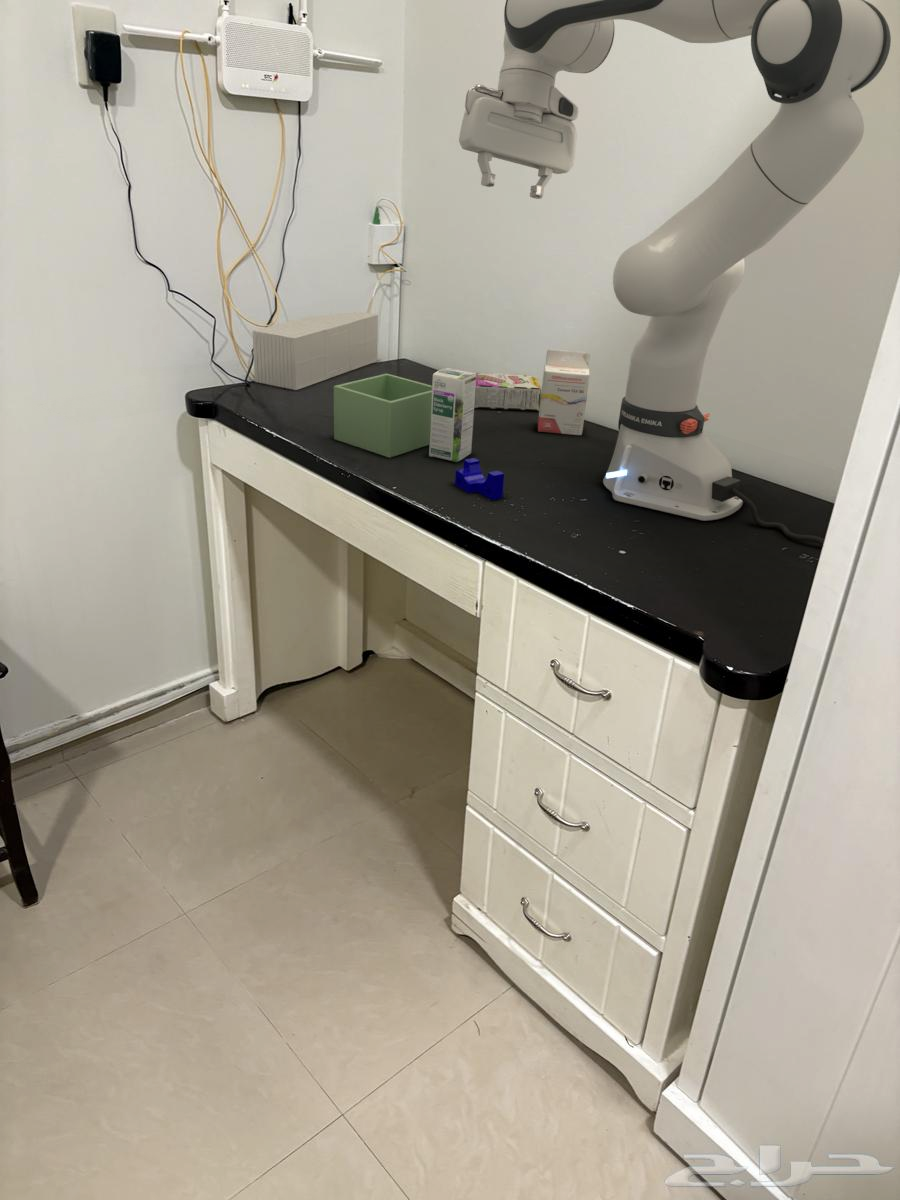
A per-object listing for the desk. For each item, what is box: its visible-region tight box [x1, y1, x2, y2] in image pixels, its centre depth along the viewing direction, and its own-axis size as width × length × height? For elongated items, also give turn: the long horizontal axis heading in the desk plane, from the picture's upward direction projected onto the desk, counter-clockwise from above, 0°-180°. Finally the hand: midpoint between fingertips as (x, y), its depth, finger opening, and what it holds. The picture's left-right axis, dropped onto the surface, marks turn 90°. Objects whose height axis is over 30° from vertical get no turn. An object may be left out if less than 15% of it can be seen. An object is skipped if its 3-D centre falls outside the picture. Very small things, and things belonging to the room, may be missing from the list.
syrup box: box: [428, 367, 477, 463], centre depth 159 cm, size 6×6×14 cm
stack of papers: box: [252, 311, 379, 391], centre depth 206 cm, size 32×11×11 cm
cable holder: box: [454, 457, 505, 501], centre depth 146 cm, size 8×4×4 cm, turn 34°
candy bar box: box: [469, 371, 542, 412], centre depth 192 cm, size 11×5×16 cm
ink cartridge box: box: [537, 348, 591, 436], centre depth 175 cm, size 9×5×15 cm, turn 84°
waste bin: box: [333, 373, 432, 459], centre depth 165 cm, size 14×14×10 cm
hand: (512, 192), depth 150 cm, fingers open, 8 cm apart
